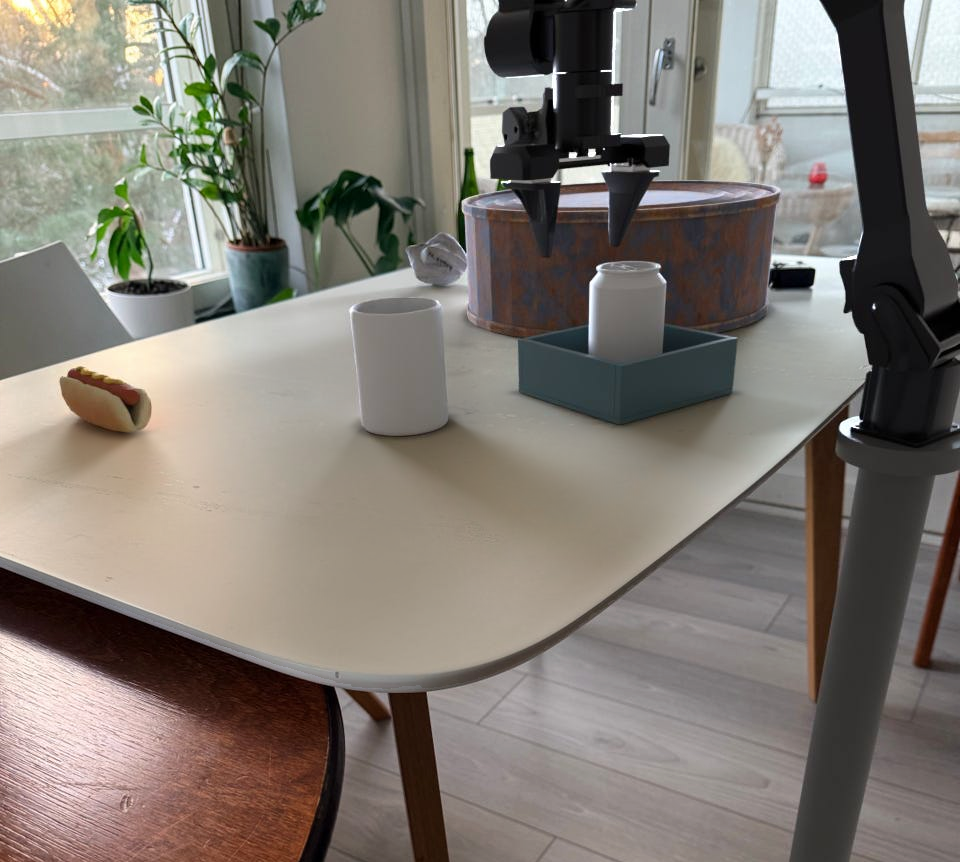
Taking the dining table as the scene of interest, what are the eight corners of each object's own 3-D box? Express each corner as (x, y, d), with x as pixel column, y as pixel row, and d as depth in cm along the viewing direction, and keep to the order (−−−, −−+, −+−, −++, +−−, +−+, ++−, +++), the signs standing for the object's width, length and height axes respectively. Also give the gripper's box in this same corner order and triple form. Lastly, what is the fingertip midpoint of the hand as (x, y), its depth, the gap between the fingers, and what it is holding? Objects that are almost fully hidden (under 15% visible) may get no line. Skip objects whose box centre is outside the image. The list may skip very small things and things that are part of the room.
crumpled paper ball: (399, 289, 154) (395, 238, 150) (413, 280, 161) (409, 231, 157) (463, 288, 152) (461, 236, 147) (474, 279, 159) (472, 229, 155)
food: (56, 416, 96) (43, 368, 93) (106, 404, 99) (94, 358, 97) (115, 443, 87) (102, 391, 85) (168, 428, 91) (156, 378, 88)
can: (643, 400, 90) (649, 271, 84) (575, 392, 94) (576, 268, 87) (671, 382, 95) (679, 259, 89) (606, 374, 99) (609, 256, 93)
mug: (431, 438, 84) (422, 315, 79) (347, 433, 87) (333, 313, 81) (471, 402, 94) (465, 290, 88) (394, 398, 96) (385, 289, 91)
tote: (732, 393, 93) (738, 337, 90) (619, 425, 85) (621, 366, 83) (626, 365, 104) (628, 315, 101) (518, 392, 96) (517, 338, 94)
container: (631, 273, 157) (634, 176, 150) (835, 307, 126) (852, 187, 118) (414, 308, 138) (405, 200, 131) (589, 359, 107) (592, 220, 99)
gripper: (600, 74, 95) (597, 236, 103) (452, 79, 86) (461, 256, 94) (678, 68, 87) (668, 244, 95) (524, 74, 78) (527, 267, 86)
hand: (581, 252), depth 93 cm, fingers open, 9 cm apart
